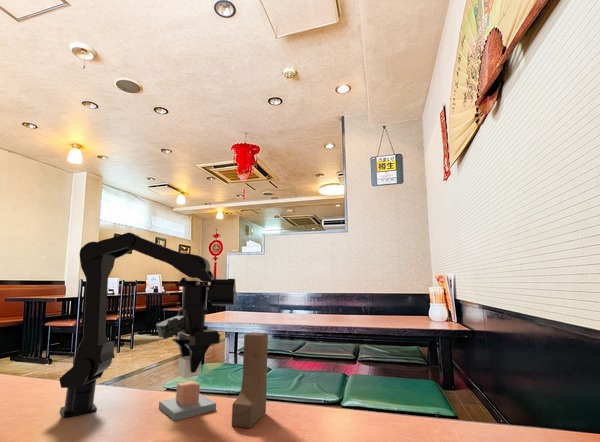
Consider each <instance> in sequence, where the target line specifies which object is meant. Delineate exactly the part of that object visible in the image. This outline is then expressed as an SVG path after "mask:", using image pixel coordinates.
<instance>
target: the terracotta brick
mask: <svg viewBox="0 0 600 442" xmlns="http://www.w3.org/2000/svg"><path fill="white" fill-rule="evenodd" d="M200 386H201V385H200V383H198V382H196V381H194V380H191V381H185V382H180V383H177V385H176V392H175V393H176V394H175V395H176V397H175V398H176V402H177V403H179V404H180V405H182V406H185V405H189V404H193V403H198V402H199V393H200V388H201V387H200Z"/></svg>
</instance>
